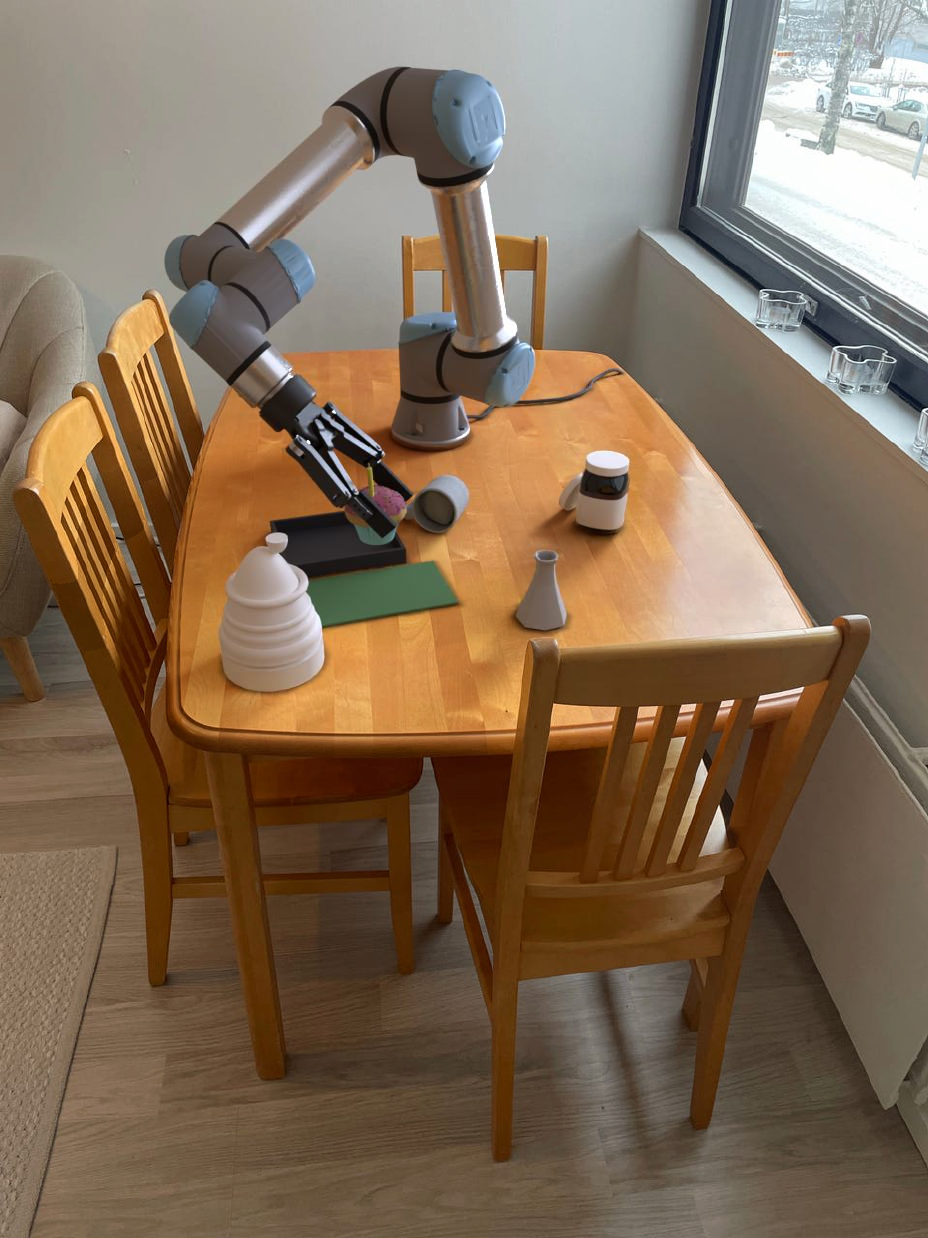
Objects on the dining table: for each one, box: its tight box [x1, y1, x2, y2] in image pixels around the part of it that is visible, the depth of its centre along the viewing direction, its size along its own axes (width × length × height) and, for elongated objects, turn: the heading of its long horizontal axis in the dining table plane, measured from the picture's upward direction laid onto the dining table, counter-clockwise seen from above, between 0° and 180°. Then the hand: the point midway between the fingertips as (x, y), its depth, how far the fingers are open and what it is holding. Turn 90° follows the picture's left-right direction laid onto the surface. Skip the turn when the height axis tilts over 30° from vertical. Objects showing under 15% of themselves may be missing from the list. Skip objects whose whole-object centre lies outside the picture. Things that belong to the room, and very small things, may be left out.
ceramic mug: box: [403, 474, 470, 534], centre depth 148 cm, size 11×8×8 cm
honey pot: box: [218, 533, 325, 693], centre depth 113 cm, size 13×13×18 cm
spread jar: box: [558, 450, 631, 536], centre depth 148 cm, size 12×11×12 cm
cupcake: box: [344, 463, 407, 545], centre depth 123 cm, size 9×8×12 cm
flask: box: [515, 549, 568, 631], centre depth 125 cm, size 7×7×10 cm
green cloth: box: [306, 560, 459, 628], centre depth 131 cm, size 20×12×1 cm, turn 109°
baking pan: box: [269, 510, 407, 579], centre depth 141 cm, size 18×15×2 cm
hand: (398, 515), depth 124 cm, fingers closed on cupcake, 9 cm apart
